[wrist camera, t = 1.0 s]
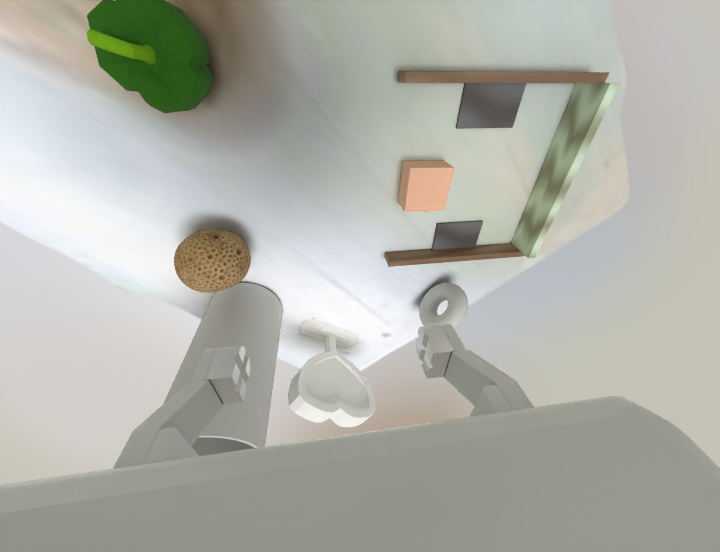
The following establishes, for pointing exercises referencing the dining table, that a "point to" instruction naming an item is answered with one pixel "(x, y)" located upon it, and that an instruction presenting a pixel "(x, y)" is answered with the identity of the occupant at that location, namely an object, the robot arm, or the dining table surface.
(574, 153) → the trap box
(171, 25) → the bell pepper
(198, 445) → the cylinder vase
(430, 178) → the terracotta block
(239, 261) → the natural sponge
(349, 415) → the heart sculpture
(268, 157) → the dining table surface
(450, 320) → the donut
